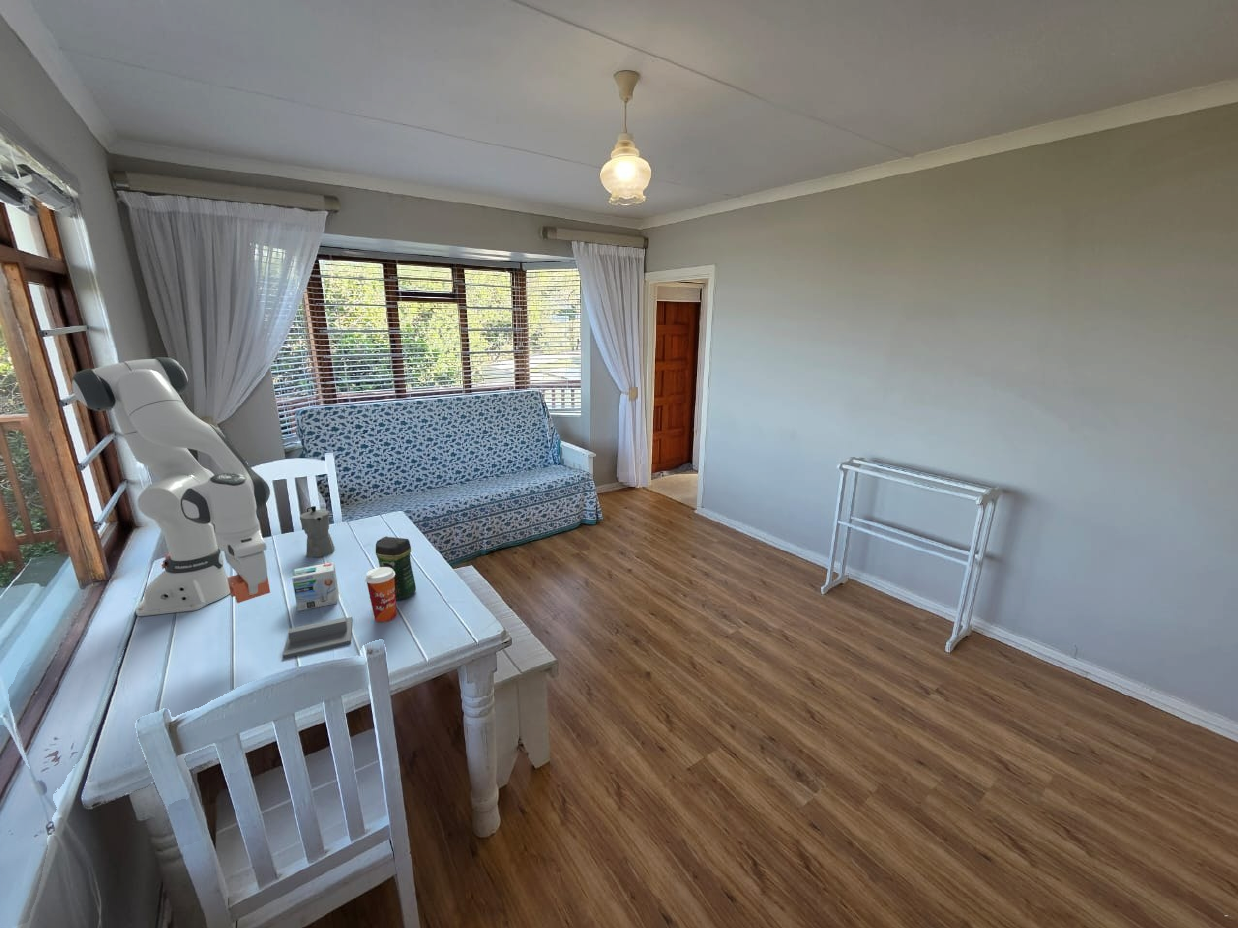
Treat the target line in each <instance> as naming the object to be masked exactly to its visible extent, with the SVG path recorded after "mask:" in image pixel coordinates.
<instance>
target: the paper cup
mask: <svg viewBox="0 0 1238 928" xmlns="http://www.w3.org/2000/svg"><path fill="white" fill-rule="evenodd" d="M394 576H395V572H394V571H393V569H392V568H389V567H380V566H379V567H375V568H373V569H370V570H369V571H368V572H367V573H366V574H365V578H364V582H366V585H367V590H368V594H369V599H370V603H371V609H372V612H373V613H372V614H373V616H374V620H375V622H378V623H385V622H388V621H391V620H394V619H395V618H396V615H397V608H396V607H397V601H396V600H397V599H395V582H394Z"/></svg>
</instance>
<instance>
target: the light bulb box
mask: <svg viewBox="0 0 1238 928" xmlns="http://www.w3.org/2000/svg"><path fill="white" fill-rule="evenodd" d="M336 571H337V570H336V567H335V561H333V562H329V563H322V564H316V565H311V566H305V567H299V568H294V570H293V575H292V578H291V579H292V585H293V592H294V598H295V604H296V610H297V612H300V611H306V610H310V609H316V608H320V607H326V606H329V605H335V604H336V605H337V604H338V603H339V595H340V592H339V587H338V586H339V585H338V579H337V573H336Z"/></svg>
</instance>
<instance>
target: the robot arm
mask: <svg viewBox="0 0 1238 928" xmlns="http://www.w3.org/2000/svg"><path fill="white" fill-rule="evenodd" d="M188 378H189V377H188V375H187V373H186V370H185V369H184V368H183V367H182V365H180V363H179V361H177V360H175V359H173V358H171V357H167V356H166V357H165V356H164V357H163V356H162V357H160V356H159V357H154V358H145V359H142V358H141V359H133V360H126V361H125V360H124V361H122V362H118V363H112V364H109V365H108V364H107V365H104V366H103V365H102V366H100V367H96V368H87V369H84V370H80V371H78V372H76V373H74V374H73V377H72V378H71V381H72V382H71V383H72V384H71V386H72V387H71V388H72V392H73V394H74V396H75V397H76V399H77V400H78V401H79V403H81V404H83V405H84V406H85V407H86V408H87V409H89V410H93V411H101V412H102V411H111V410H112V409H113V412H114V416H115V420H116V422H117V424H118V426H119V427H118V428H119V429H120V431H121V434H122V435H123V437H124V439H125V441H126V443H127V446H128V447H129V448H130V451H131V453H132V455H133V456H134V459H135V460H136V461H137V462H138V463H140V464H143V465H145V466H147V468H149V469H150V470H151V471H152V472H153V473H154V474H155V476H156V478H158V480H156V481H154V482H152V483H150V484H149V485H147V487H146V488H145V489H144V490H143V491H142V492H141V493H140V494H139V496H138V498H137V501H136V503H137V507H138V510H139V511H140V512H141V514H143V515H144V516H145V517H147V518H148V519H151V520H153V521H154V522H155V523H156V524H157V525H158V528H159V529H160V531H161V532H162V534H163V536H164V539H165V542H166V546H167V550H168V554H167V555H166V556H165V559H164V560H163V561H162V564H161V568H162V569H163V571H162V572H161V573H160V574H159V575H157V577H154V579H153V580H152V581H151V582H150V583H149V584H147V586H146V589H145V590H144V595H143V596H144V597H143V599H142V600H141V601H140V602H139V603H138V604H137V606H136V609H135V614H136V616H137V617H144V616H146V617H147V616H154V615H163V614H172V613H182V612H190V611H197V610H200V609H202V608H204V607H205V606H207V605H209V604H211V603H214V602H216V601H220V600H221V599H223V598H225V597H226V596H228V595H231V594H230V589H229V584H228V579H227V578H229V576H228V575H227V572H226V570H225V567H224V559H225V560H226V563H227V564H228V565H229V566H230V567H231V568H232V569H233V570H234V571H235V572H236V575H240V576H241V577H242V578H243V579H244V580H245V581H246V582H247V583H248V587H247V588H248V592H249V593H250V594H251V595H252V594H256V593H258V584H259V583H262V582H265V581H266V579H267V577H268V571H267V569H268V567H267V559H266V553H265V551H266V550H267V543H266V540H265V539H264V537H263V534H262V530H261V524H260V521H259V519H258V517H257V511H260V510H261V509H263V507H265V506H266V504H267V503H268V500H269V499H270V495H271V490H270V487H269V485H268V483H267V481H266V480H265V479H264V478H263V477H262V476H261V475H259V474H258V473H257V472H256V471H255V470H253V468H252V467H251V466H250V465H249V464H248V463H247V461H246V459H244V458H243V457H242V455H241V454H240V453H239V452H238V451H237V450H236V448H235V447H234V446H233V445H232V444H231V442H230V441H229V440H228V439H227V437H225V436H224V434H223V433H222V432H221V431H220V430H219V429H218V428H217V427H216V426H215V425H213V424H211V423H208V422H205V421H203V420H202V419H201V418H199V417H198V416H197V415H195V414H194V413H193V412H192V411H191V410H189V408H188V407H187V406H186V404H185V403H184V401H183V399H182V398H181V396H180V395H182V394H184V393H185V392H186V390H187V389H188V388H189V383H188V382H189V379H188ZM189 450H193V451H199V452H202V453H205V454H206V455H208V456H209V457H210V458H211V459H212V460H213V461H214V462H215V463H216V464H217V465H218V467H219V468H220V470H222V472H223V473H217V474H215V473H213V472H212V471H211V470H209V469H208V468H205V467H204V466H202V465H201V464H200V462H198V460H197V459H196V458H195V457H194V456H193V454H192V453H191V452H190V451H189ZM222 552H223V553H224V557H223V553H222ZM223 558H224V559H223Z"/></svg>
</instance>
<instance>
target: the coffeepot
mask: <svg viewBox="0 0 1238 928" xmlns="http://www.w3.org/2000/svg"><path fill="white" fill-rule="evenodd" d="M299 519H300V522H301V525H302V528H303V531H304V534H305V535H306V552H305V553H306V557H308V558H313V559H314V558H317V559H318V558H322V557H327V556H329V555H331V554H333V553H334V552H335V549H336V547H335V545H334V543H333V540H332V536H331V535H330V533H329V529H330V511H329V510H326V509H317V506H316V505H313V506H312V505H311V506H310V507H307V508H306V512H303V513H301V514H300V516H299Z"/></svg>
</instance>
